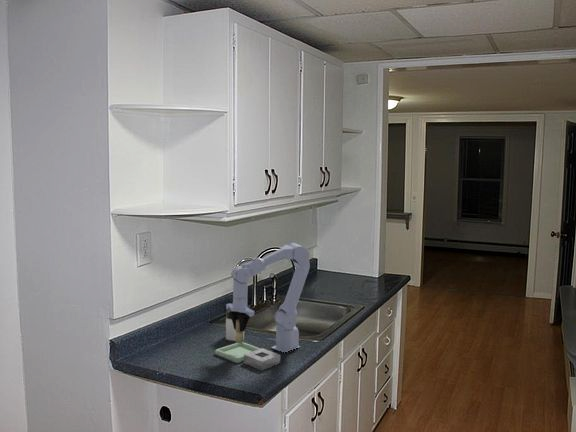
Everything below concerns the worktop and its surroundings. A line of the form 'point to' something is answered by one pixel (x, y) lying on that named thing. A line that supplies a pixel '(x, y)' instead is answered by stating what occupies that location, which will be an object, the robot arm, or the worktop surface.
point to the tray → (235, 351)
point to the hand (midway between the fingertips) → (239, 330)
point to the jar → (230, 328)
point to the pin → (238, 333)
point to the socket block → (261, 359)
